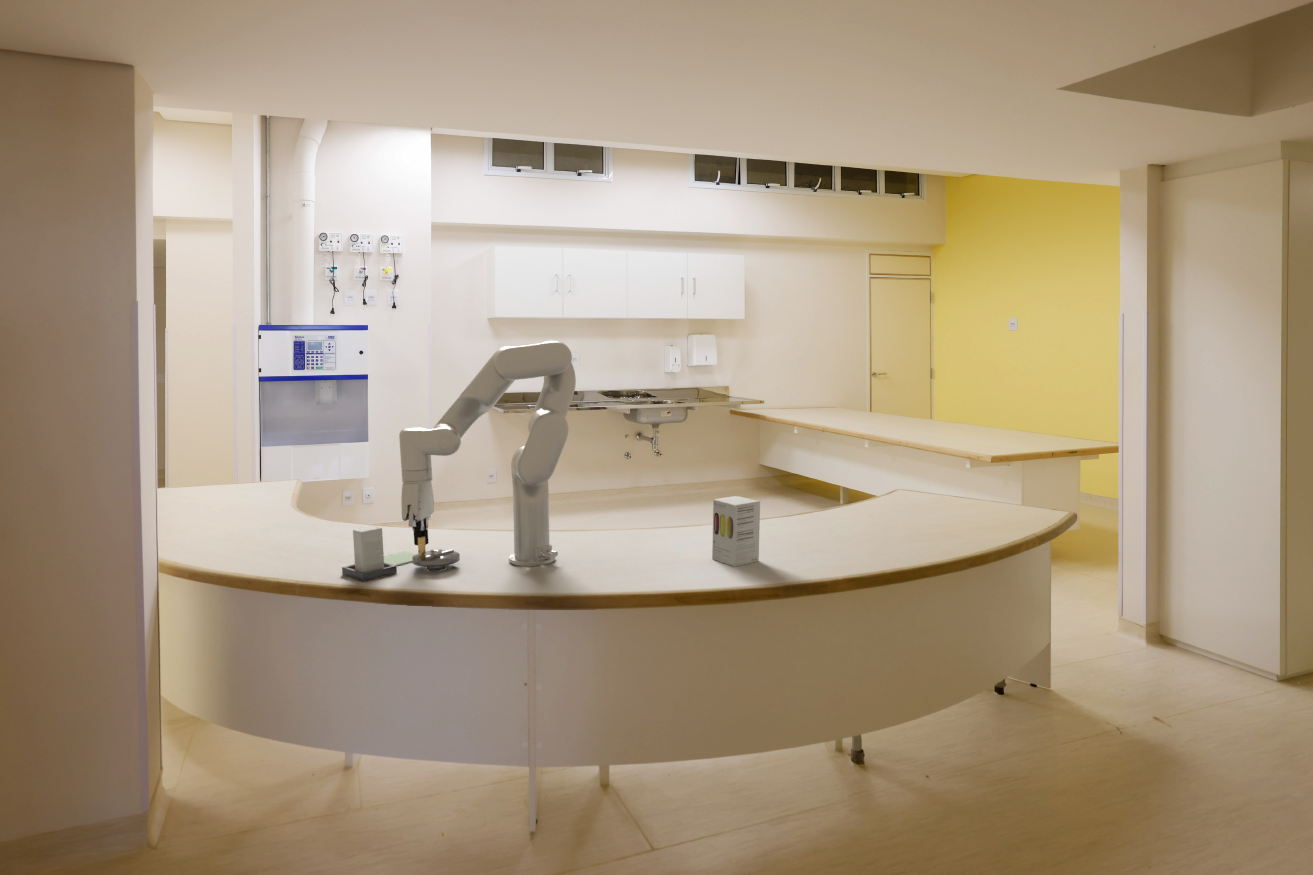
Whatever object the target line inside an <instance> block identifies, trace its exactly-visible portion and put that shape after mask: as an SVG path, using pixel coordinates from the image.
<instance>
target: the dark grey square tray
mask: <svg viewBox="0 0 1313 875" xmlns="http://www.w3.org/2000/svg"><path fill="white" fill-rule="evenodd" d="M341 572H342V574H341V575H342V576H344V577H347V578H350V579H352V580H353V579H354V580H356V581H359V582H363V583H365V582H368V581H372V580H376V579H379V578H384V577H389V576H392V575H395V574H397V573H398V568H397V566H396V565H392V564H389V563H386V562H384V568H381V569H377V570H373V571H369V572H365V573H363V572H360V571H357V570H355V563H354V564H350V565H347V566H343V567H341Z"/></svg>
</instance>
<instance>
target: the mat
mask: <svg viewBox="0 0 1313 875" xmlns="http://www.w3.org/2000/svg"><path fill="white" fill-rule="evenodd" d="M416 554H417V553H414V552H410V551H406V550H404V551H400V552H395V553H392V554H387V555H384V562H386V563H389V564H392V565H396V566H402V565H406V564H411V563H413V562H412V557H413V556H414V555H416Z"/></svg>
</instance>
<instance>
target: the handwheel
mask: <svg viewBox="0 0 1313 875" xmlns="http://www.w3.org/2000/svg"><path fill="white" fill-rule="evenodd" d="M417 548H418V549H417V550H418V553H415V554H416V555H414V556H413V557H412V562H411V563H412V564H413V565H415V566H417V567H422V568H423V567H425V568H427V567H439V566H446V567H447V566H451V565H453V564H456V563H459V561H460V559H461V558H460V557H461V556H460V553H459V552H458V551H455V550H454V549H453V548H450V549H441V548H432V549H430V550H427V549H426V545H425V537H424V536H421V537H418V545H417ZM426 550H427V551H426Z"/></svg>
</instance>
